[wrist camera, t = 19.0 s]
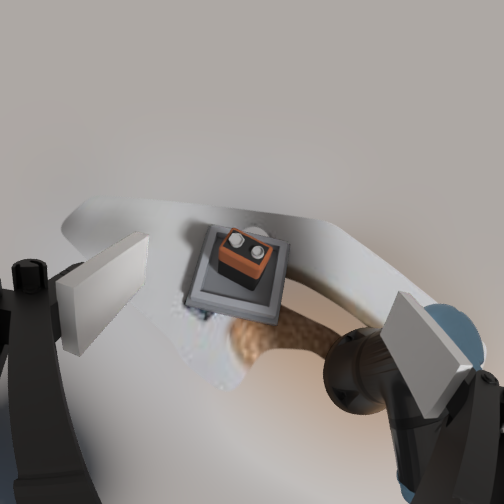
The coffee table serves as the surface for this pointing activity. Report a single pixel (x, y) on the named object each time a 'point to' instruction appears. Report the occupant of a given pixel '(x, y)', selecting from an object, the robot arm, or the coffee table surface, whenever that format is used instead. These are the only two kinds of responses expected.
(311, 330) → the coffee table surface
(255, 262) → the battery
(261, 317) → the charging dock
